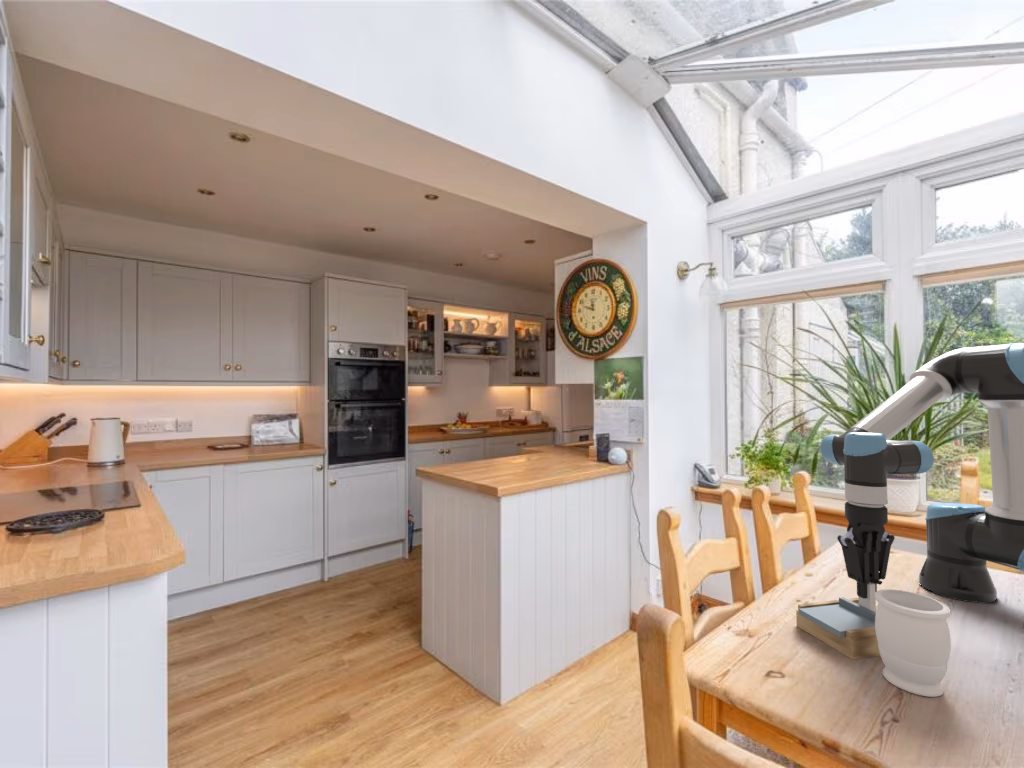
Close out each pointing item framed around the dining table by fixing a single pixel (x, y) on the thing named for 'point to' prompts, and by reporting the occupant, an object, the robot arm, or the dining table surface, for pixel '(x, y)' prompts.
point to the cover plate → (840, 616)
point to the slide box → (852, 645)
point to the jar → (913, 640)
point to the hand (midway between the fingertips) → (867, 611)
